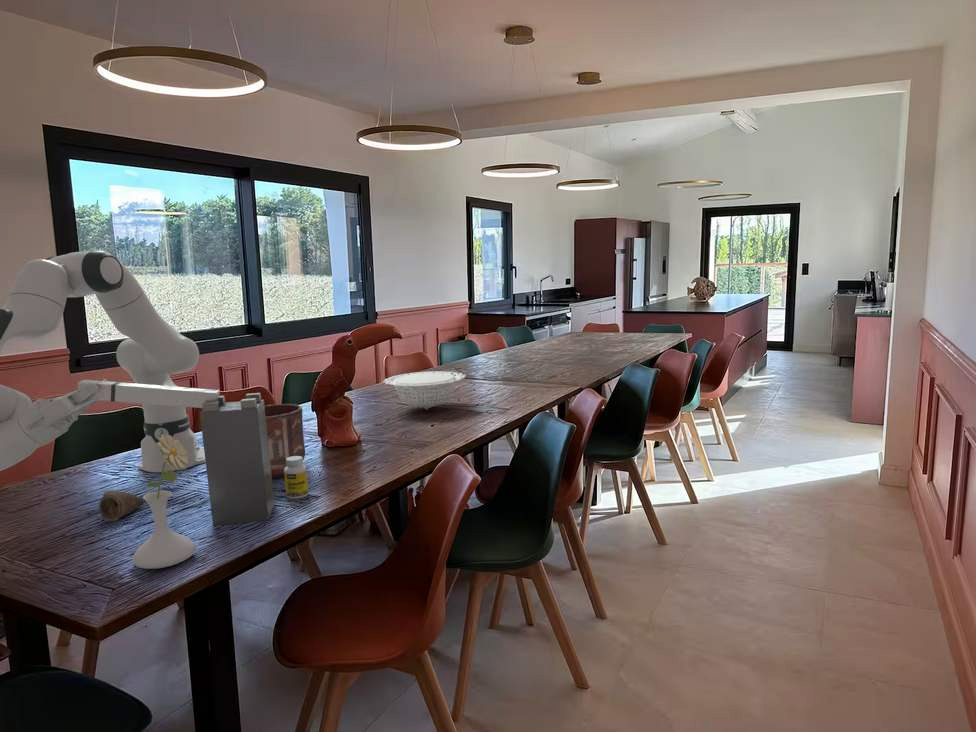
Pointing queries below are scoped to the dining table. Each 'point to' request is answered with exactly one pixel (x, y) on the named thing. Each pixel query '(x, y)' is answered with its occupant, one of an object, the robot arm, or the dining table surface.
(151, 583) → the dining table surface
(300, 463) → the supplement bottle
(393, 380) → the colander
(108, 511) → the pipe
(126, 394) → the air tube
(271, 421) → the pottery
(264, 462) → the block
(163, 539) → the flower in vase
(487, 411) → the dining table surface
